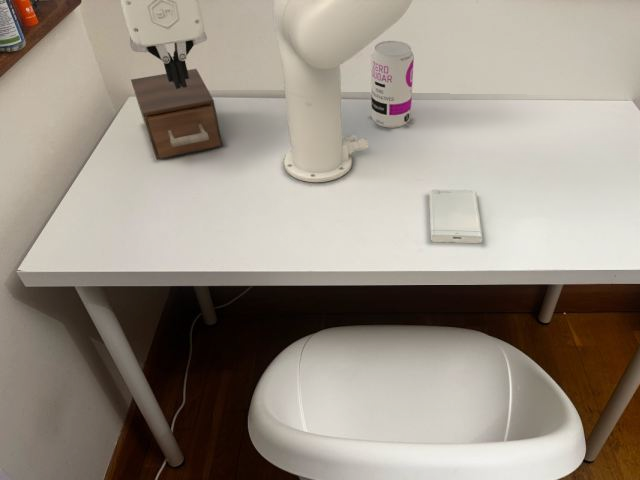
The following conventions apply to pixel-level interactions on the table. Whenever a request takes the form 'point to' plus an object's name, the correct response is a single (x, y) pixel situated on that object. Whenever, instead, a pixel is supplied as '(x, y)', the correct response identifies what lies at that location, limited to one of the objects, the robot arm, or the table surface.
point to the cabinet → (171, 99)
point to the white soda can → (391, 83)
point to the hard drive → (454, 216)
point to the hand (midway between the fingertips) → (179, 84)
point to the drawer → (184, 131)
